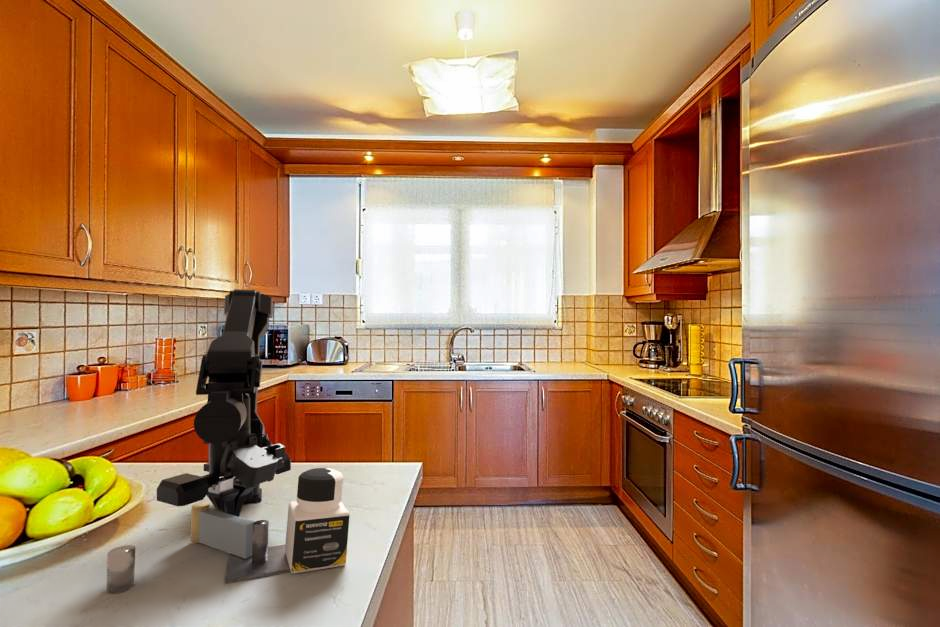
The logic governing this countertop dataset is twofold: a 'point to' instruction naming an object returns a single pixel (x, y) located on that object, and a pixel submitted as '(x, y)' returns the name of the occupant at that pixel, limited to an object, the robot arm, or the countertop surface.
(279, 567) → the peg on base plate
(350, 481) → the countertop surface
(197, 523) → the gate
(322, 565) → the medicine bottle
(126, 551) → the post
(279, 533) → the countertop surface
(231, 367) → the robot arm
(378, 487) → the countertop surface
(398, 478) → the countertop surface
